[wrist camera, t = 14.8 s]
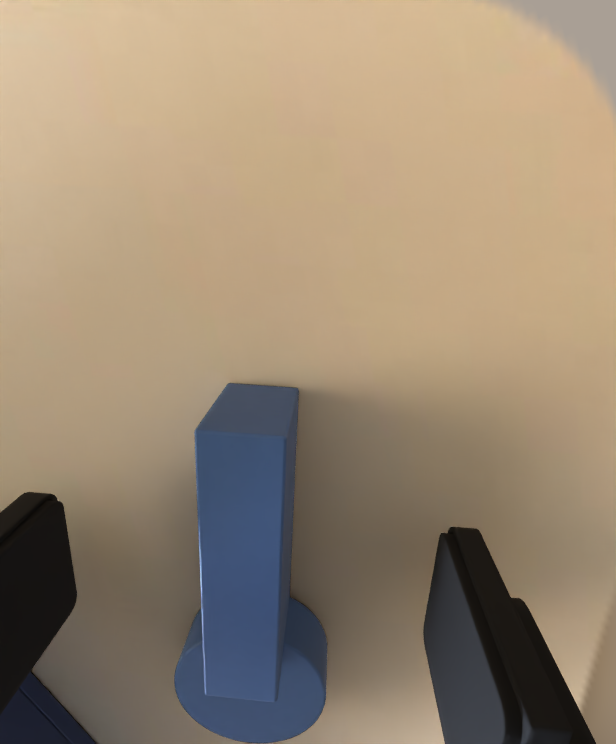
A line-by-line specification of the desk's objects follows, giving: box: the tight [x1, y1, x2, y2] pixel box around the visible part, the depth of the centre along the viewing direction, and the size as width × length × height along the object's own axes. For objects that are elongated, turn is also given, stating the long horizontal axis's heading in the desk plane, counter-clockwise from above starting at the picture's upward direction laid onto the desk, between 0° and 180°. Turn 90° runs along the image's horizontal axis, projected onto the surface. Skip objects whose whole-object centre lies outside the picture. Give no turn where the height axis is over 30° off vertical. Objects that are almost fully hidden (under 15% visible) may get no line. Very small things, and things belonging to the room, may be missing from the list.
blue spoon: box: [174, 383, 327, 743], centre depth 10 cm, size 10×4×2 cm, turn 177°
